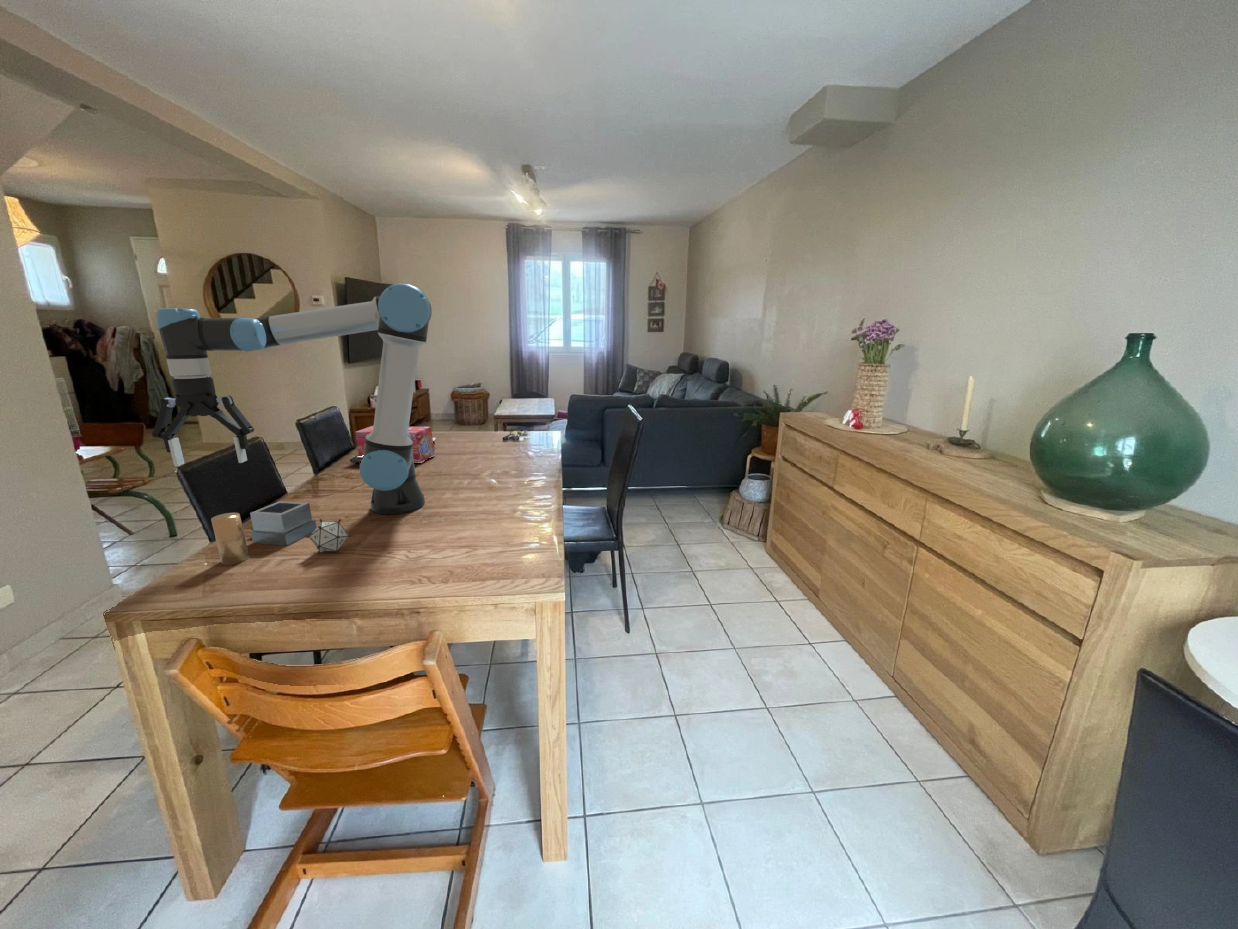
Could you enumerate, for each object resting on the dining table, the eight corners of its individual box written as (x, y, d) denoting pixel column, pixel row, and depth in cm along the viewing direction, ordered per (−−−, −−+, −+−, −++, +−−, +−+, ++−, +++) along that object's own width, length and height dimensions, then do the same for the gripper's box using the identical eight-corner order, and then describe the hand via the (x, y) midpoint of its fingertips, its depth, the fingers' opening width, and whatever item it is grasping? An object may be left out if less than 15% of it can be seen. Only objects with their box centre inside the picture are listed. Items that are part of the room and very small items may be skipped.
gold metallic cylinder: (254, 556, 117) (245, 513, 114) (234, 566, 112) (224, 521, 109) (236, 554, 118) (226, 511, 115) (215, 564, 113) (204, 520, 110)
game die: (332, 568, 118) (311, 549, 110) (313, 549, 122) (291, 529, 114) (364, 542, 123) (345, 522, 115) (344, 524, 126) (325, 504, 118)
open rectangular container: (317, 530, 132) (312, 502, 130) (287, 545, 122) (281, 516, 120) (274, 527, 134) (268, 499, 132) (241, 541, 125) (234, 512, 122)
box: (357, 463, 200) (352, 430, 196) (376, 455, 212) (372, 424, 208) (420, 465, 196) (416, 432, 193) (435, 457, 209) (432, 426, 205)
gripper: (259, 374, 121) (275, 456, 127) (140, 376, 116) (162, 462, 121) (244, 377, 114) (261, 464, 120) (116, 379, 109) (141, 470, 114)
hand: (211, 463), depth 121 cm, fingers open, 13 cm apart
